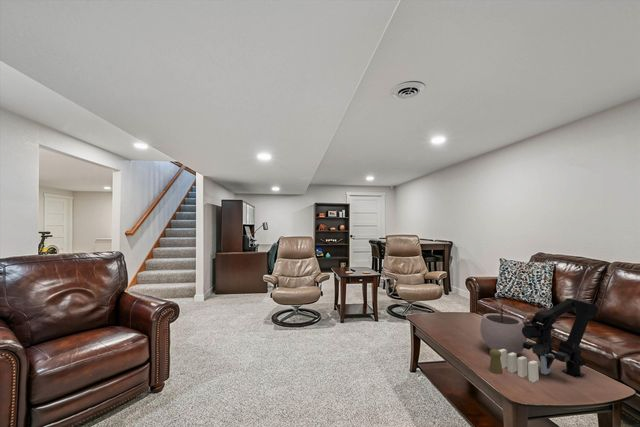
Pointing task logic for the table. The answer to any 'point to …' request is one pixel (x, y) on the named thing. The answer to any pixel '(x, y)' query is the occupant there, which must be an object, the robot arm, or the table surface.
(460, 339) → the table surface
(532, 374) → the domino
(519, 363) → the domino
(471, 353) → the table surface
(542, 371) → the domino
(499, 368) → the olive green pawn
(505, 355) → the domino
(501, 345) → the plant pot
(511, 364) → the domino
